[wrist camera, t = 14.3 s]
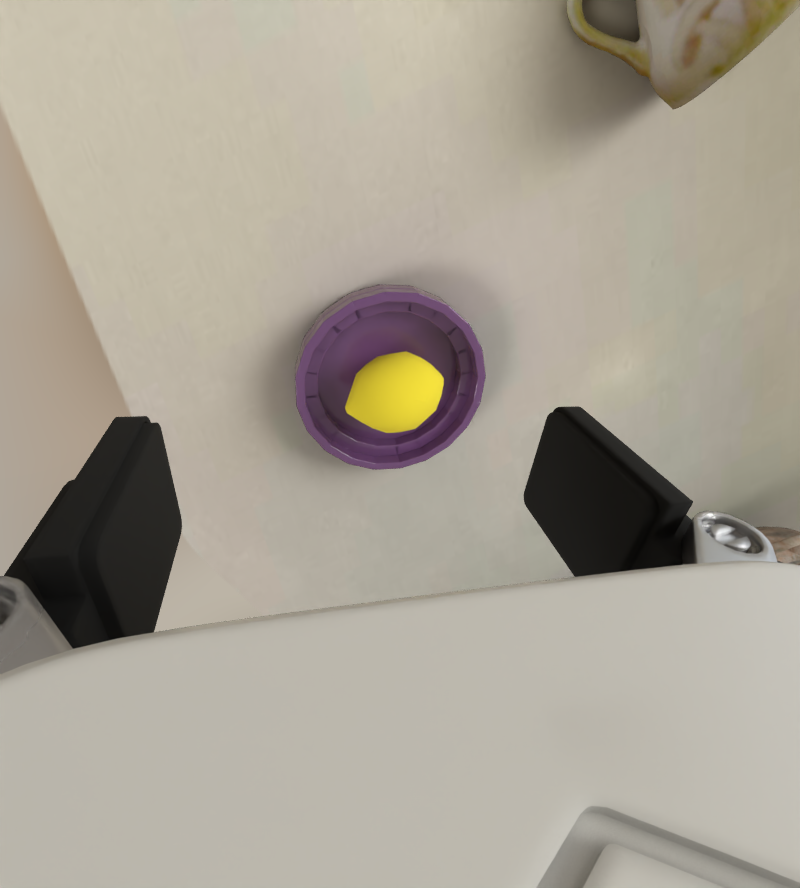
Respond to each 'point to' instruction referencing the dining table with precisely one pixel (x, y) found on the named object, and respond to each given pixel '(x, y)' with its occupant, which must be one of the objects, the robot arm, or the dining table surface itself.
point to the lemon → (395, 392)
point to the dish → (375, 334)
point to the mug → (688, 40)
